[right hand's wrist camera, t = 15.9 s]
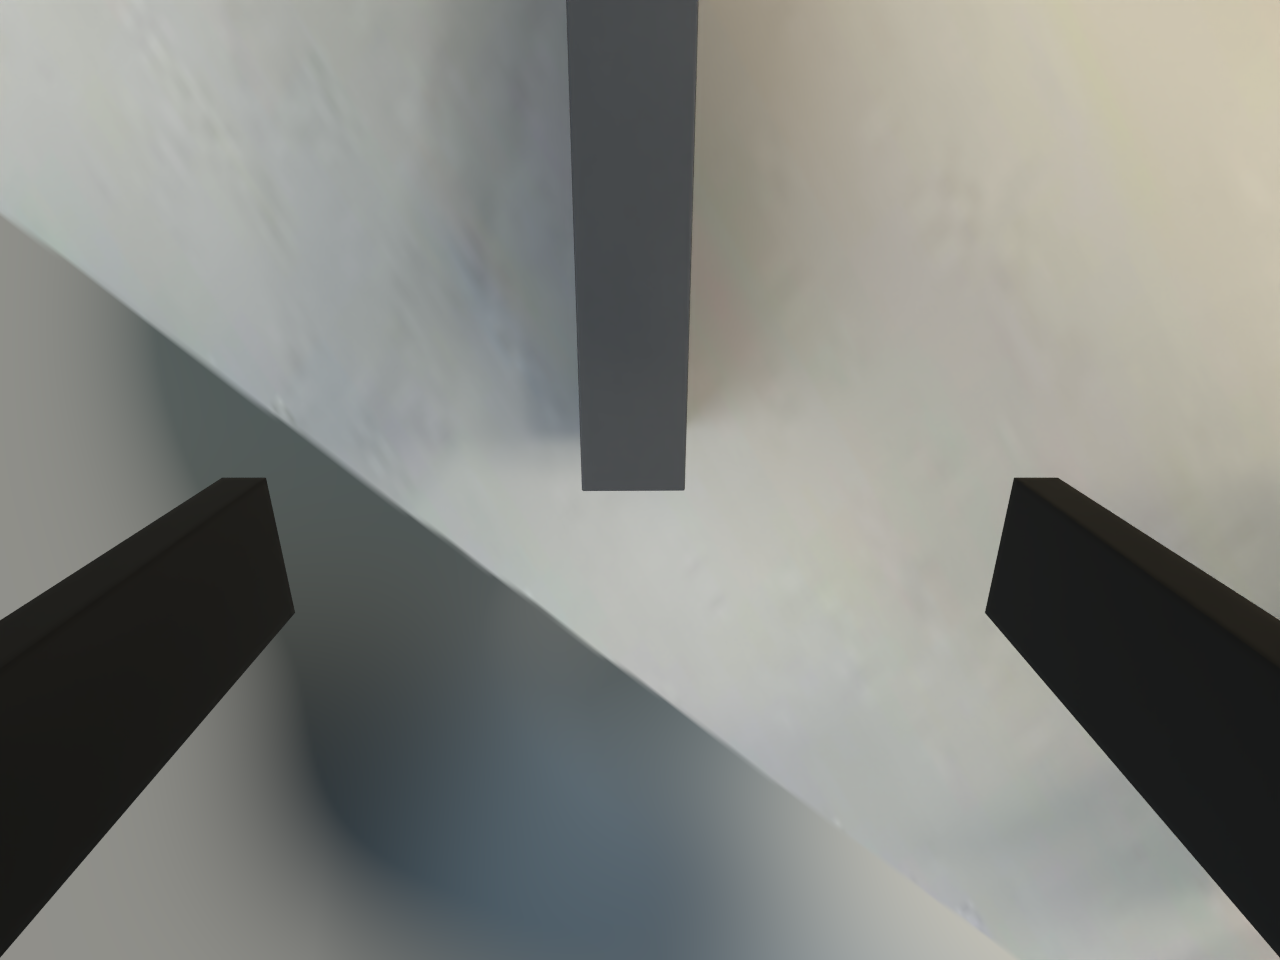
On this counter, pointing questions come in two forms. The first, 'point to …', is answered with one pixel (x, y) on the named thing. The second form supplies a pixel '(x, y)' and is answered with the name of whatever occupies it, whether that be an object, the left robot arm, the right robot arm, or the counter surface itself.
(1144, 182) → the counter surface
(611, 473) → the beam
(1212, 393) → the counter surface
